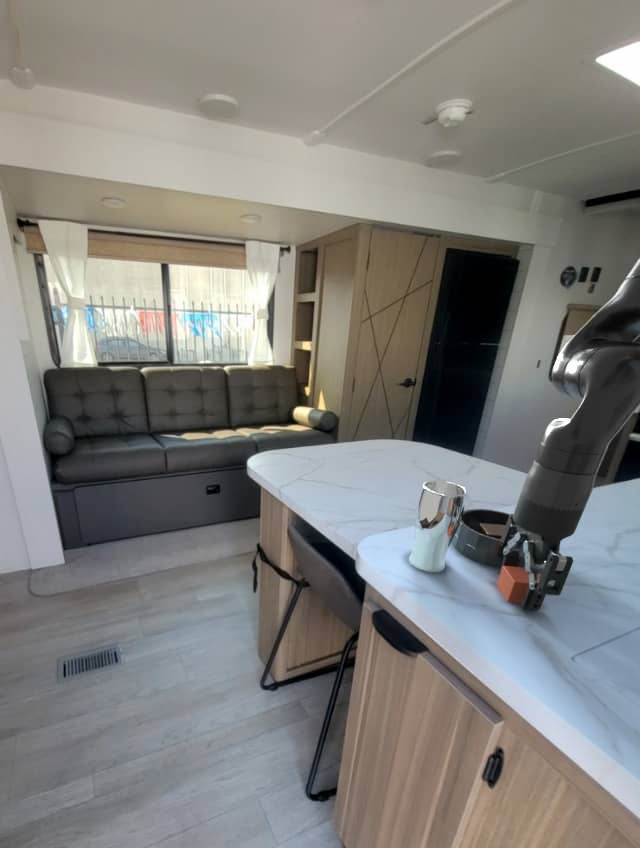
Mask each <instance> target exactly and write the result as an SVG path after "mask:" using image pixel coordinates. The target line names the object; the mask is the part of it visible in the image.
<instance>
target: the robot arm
mask: <svg viewBox="0 0 640 848" xmlns="http://www.w3.org/2000/svg"><path fill="white" fill-rule="evenodd" d="M639 337H640V257H638V259H637V261H636V262H635V264H634V265H633V266H632V268H631V270H630V271H629V272H628V274H627V275H626V277H625V278H624V280H623V282H621V284H620V286H619V287H618V289H617V291H616V292H615V294H614V295H613V296H612V297H611V298H610V299H609V300H608V301H607V302H606V303H605V304H604V305H603V306H602V307H600V308H599V309H598V310H597V311H596V312H595V314H593V316H591V318H590V319H588V321H587V322H586V323H585V324H584V325H583V326H582V327H581V328H580V329H579V330H578V331H577V332H576V333H575V334H574V335H573V336H572V338H570V340H569V341H567V343H566V344H565V345H564V347H563V348H562V349H561V351H560V352H559V354H558V356H557V357H556V359H555V362H554V364H553V367H552V370H551V371H552V372H551V383H552V386H553V388H554V390H555V391H556V392H557V393H558V394H560V395H562V396H565V397H568V398H571V399H575V400H580V401H581V403H580V404H579V406H578V408H577V409H576V411H575V412H574V413H573V414H572V416H571V417H562V418H558V419H557V418H556V419H554V420H552V421H551V422H549V424H548V425H547V426H546V428H545V430H544V432H543V433H542V437H541V440H540V443H539V445H538V448H537V451H536V454H535V457H534V460H533V463H532V464H531V467H530V469H529V471H528V472H527V474H526V477H525V480H524V483H523V486H522V488H521V491H520V495H519V496H518V500H517V503H516V506H515V509H514V511H513V513H509V514H510V515H509V518H508V521H507V524H506V526H505V529H504V532H503V534H502V537H501V540H500V546H504V549H503V554H504V555H505V556H504V559H503V562H502V565H501V567H500V568H499V571H498V576H499V575H500V572H501V569H502V566H512V567H518V566H519V563H520V560H521V559H520V558H519V557H521V556H523V558H524V560H525V567H524V568H525V571H526V572H527V573H528V574H529V586H528V588H527V591H526V593H525V596H524V598H523V601H522V603H520V607H521V608H522V610H524V611H529V612H537V611H540V609H541V607H542V605H543V603H544V600H545V598H546V596H556V597H559V596H560V595H561V594H562V591H563V588H564V586H565V584H566V581H567V579H568V576H569V573H570V572H571V568H572V566H573V563H574V558H573V557H572V556H569V555H563V554H562V553H560V549H561V548H560V546H561V543H562V541H563V540H565V539H566V538H569V537H572V536H573V535H574V534H575V532H576V530H577V528H578V525H579V523H580V520H581V519H582V516H583V514H584V511H585V509H586V506H587V504H588V502H589V499H590V497H591V494H592V492H593V490H594V486H595V482H596V478H597V474H598V472H599V469H600V467H601V465H602V463H603V460H604V458H605V455H606V453H607V451H608V448H609V446H610V444H611V442H612V441H613V439H614V438H615V437H616V436H617V434H618V433H619V432H620V431H621V430H622V428H623V427H624V426H625V425H626V423H627V422H628V421H629V420H630V418H631V417H632V416H633V414H634V413H635V412H636V411H637V409H639V407H640V342H638V341H636V340H638V338H639ZM510 535H514V536H515V537H513V538H512V539H511V540H508V538H509V536H510ZM518 556H519V557H518ZM535 565H537V566H543V567H536V566H535ZM537 574H538V575H540V580H539V582H537ZM553 582H554V583H553Z"/></svg>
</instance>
